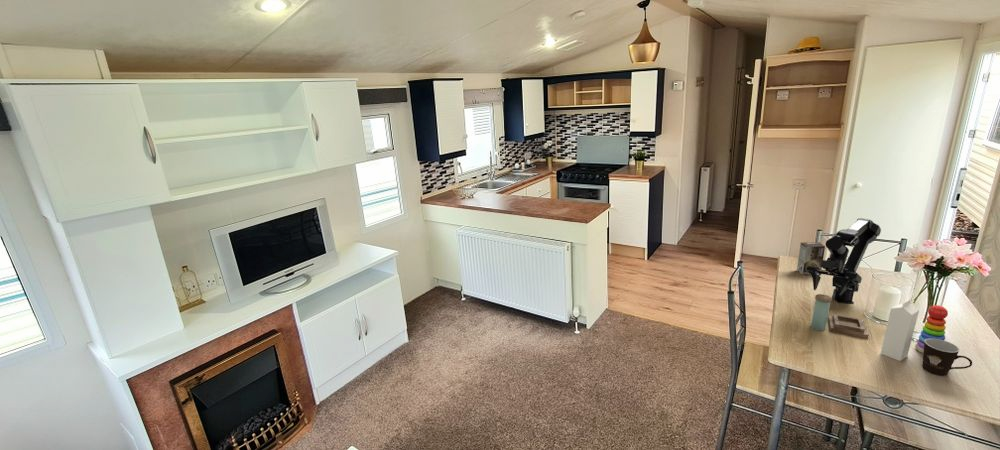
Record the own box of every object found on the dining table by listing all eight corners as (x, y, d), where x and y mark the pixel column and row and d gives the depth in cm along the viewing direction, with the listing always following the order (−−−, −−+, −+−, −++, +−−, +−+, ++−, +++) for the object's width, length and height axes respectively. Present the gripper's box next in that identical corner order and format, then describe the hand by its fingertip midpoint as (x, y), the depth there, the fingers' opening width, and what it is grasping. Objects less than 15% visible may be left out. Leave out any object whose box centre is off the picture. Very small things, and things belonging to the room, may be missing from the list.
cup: (823, 324, 184) (828, 294, 180) (828, 331, 180) (834, 300, 175) (808, 323, 186) (813, 293, 182) (812, 330, 181) (818, 299, 177)
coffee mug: (911, 364, 157) (917, 339, 154) (933, 361, 158) (940, 337, 155) (945, 384, 146) (952, 358, 143) (969, 382, 147) (977, 356, 144)
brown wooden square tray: (828, 318, 189) (829, 311, 188) (863, 324, 183) (865, 318, 182) (830, 331, 180) (831, 324, 179) (868, 338, 173) (869, 331, 173)
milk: (907, 356, 162) (922, 302, 155) (900, 361, 159) (914, 307, 152) (887, 348, 167) (900, 296, 160) (879, 353, 164) (892, 300, 157)
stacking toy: (931, 345, 167) (943, 301, 161) (950, 358, 159) (963, 311, 154) (909, 345, 168) (920, 301, 162) (926, 357, 160) (938, 311, 155)
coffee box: (814, 270, 236) (819, 241, 232) (821, 274, 230) (826, 246, 226) (796, 270, 238) (800, 242, 233) (802, 274, 232) (806, 246, 227)
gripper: (805, 248, 192) (794, 281, 190) (856, 254, 176) (845, 290, 174) (816, 258, 197) (805, 290, 195) (866, 265, 181) (855, 300, 179)
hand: (826, 292), depth 186 cm, fingers open, 9 cm apart
